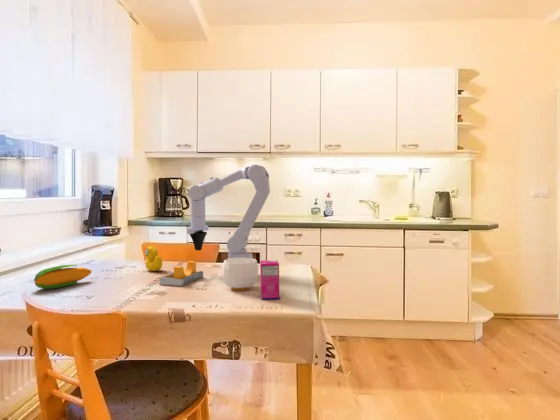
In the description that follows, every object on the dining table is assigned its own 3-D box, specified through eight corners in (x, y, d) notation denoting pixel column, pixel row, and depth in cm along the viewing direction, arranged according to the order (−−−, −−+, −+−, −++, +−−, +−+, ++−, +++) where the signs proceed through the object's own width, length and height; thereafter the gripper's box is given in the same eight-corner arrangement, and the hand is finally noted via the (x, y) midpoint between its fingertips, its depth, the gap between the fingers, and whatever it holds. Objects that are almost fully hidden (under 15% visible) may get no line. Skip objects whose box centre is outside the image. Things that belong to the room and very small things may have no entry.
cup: (255, 283, 149) (255, 256, 149) (261, 292, 137) (261, 263, 137) (221, 285, 147) (220, 258, 146) (223, 294, 135) (223, 264, 134)
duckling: (139, 269, 172) (139, 245, 172) (151, 267, 176) (151, 244, 176) (154, 273, 165) (153, 248, 164) (166, 271, 169) (165, 247, 168)
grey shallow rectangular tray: (203, 277, 159) (203, 271, 158) (184, 286, 144) (184, 279, 144) (178, 275, 162) (178, 269, 161) (156, 284, 147) (156, 277, 147)
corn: (28, 267, 138) (84, 258, 155) (28, 290, 139) (84, 278, 155) (40, 271, 134) (96, 262, 151) (40, 294, 135) (96, 282, 151)
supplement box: (260, 295, 133) (260, 259, 133) (278, 294, 134) (278, 259, 133) (260, 300, 128) (260, 263, 127) (279, 299, 128) (280, 263, 127)
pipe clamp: (185, 277, 159) (185, 260, 159) (196, 278, 158) (195, 261, 157) (169, 284, 147) (169, 266, 147) (180, 285, 146) (180, 267, 146)
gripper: (197, 214, 172) (197, 247, 173) (179, 217, 158) (180, 252, 159) (212, 214, 170) (213, 247, 171) (196, 217, 156) (197, 253, 157)
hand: (198, 250), depth 165 cm, fingers closed
